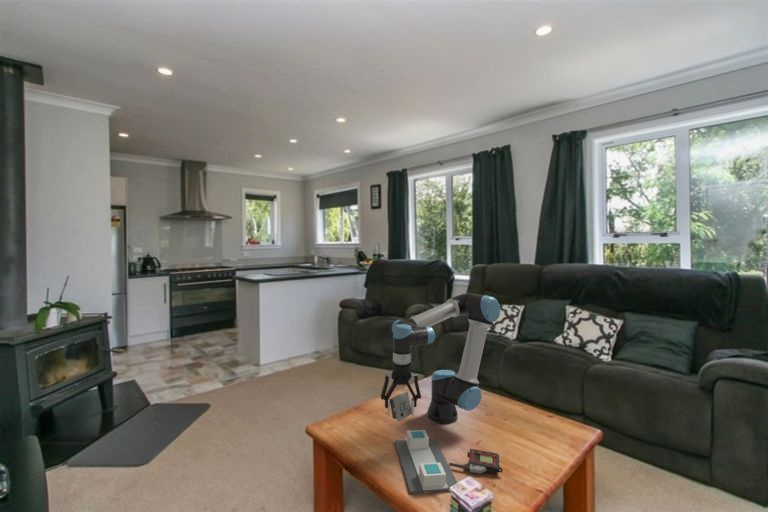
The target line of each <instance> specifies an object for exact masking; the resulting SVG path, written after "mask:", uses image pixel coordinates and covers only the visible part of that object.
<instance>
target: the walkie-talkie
mask: <svg viewBox="0 0 768 512" xmlns="http://www.w3.org/2000/svg"><path fill="white" fill-rule="evenodd" d="M466 455H467V458H469V459H468V460H467V464H468V465H463V464H459V463H453V462H449V463H448V465H449V467H455V468H461V469H465V470H469V473H474V474H478V475H479V474H481V475H482V473H485V472H490V473H491V472H493V473H496V474H497V473H503V468H502V467H500V454H499V453H498V452H497V453H496V452H493V451H487V450H480V449H474V448H470V449H469V451H467V454H466Z"/></svg>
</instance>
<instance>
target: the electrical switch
mask: <svg viewBox="0 0 768 512" xmlns="http://www.w3.org/2000/svg"><path fill="white" fill-rule="evenodd" d="M389 400H390V412H391V417H392V419H393V420H396V421H397V422H401V421H402V420H404V419H406V418H408V417H409V416H412V415H411V399H410V394H409V392H408V391H405V392H403V393H400V394H398V395H395V396H393V397H390V398H389Z"/></svg>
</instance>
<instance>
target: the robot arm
mask: <svg viewBox="0 0 768 512" xmlns="http://www.w3.org/2000/svg"><path fill="white" fill-rule="evenodd" d="M459 316H468V317H467V320H468V323H469V327H468V331H467V335H466V339H465V344H464V348H463V352H462V357H461V362H460V364H459V369H458V370H459V371H458V372H457V373H456V372H455V371H454V370H451V369H439V370H436V371H434V372H433V373H432V375H431V399H430V403H429V406H428V409H427V417H428V419H430V420H431V421H433V422H435V423H438V424H446V425H448V424H452V422H453V423H456V421H457V420H458V416H459V415H458V414H459V413H458V410H457V407H458V408H460V409H462V410H464V411H466V412H467V411H473V410H475V408H477V407H479V405H480V403H481V400H482V397H483V394H482V390H481V388H479V384H480V381H479V380H478V374H479V369H480V365H481V361H482V355H483V351H484V347H485V342H486V339H487V333H488V329H489V328H490V327H493V323H494V322H497V321H498V319H499V318H500V316H501V307H500V304H499V302H498V300H497V298H495V297H494V296H490V295H486V294H478V293H473V292H466V293H462V294H458V295H456V296H453V297H451V298H448V299H447V300H446V301H445V302H444V303H441V304H440V305H438V306H435V307H432V308H431V309H428V310H426V311H423V312H421V313H419V314H417V315H414V316H411V317H409V318H407V319H404V320H402V319H397V320H395V321H394V322H393V323H392V325H391V331H392V334H393V335H392V339H393V340H392V373H391V374H387V373H386V374H384V381H383V387H382V390H381V393H380V399H381V400H384V407H385V409H386V411H387V412H386V414H387V417H388V418H389V417H391V413H390V412H391V406H390V400H389V399H391V396H392V394H393V392H394V391H395V389H396V388H397V386H406V387H407V388H408V390H409V392H410V394H411V396H412V397H411V399H410V405H411V415H410V416H411V417H415V408H417V401H418V399H419V400H420V399H421V398H422V395H421V389H420V387H419V382H418V381H419V377H418V376H419V375H418V374H417V373H415V374H412V373H411V371H412V369H411V368H412V366H411V365H412V363H411V361H412V360H411V359H412V348H413V347H419V346H427V345H429V344H432V343H434V341H435V339H436V333H435V330H434V328H433V327H432V326H435V325H436V324H439V323H441V322H444V321H445V320H447V319H450V318H452V317H453V318H457V317H459ZM411 378H412V380H413V383H414V387H415V391H416V394H415V392H414V390H413V388H412V385H411V384H410V382H409V381H410V380H411ZM391 379H392V383H391V385H390V386H389V382H390V380H391ZM388 386H389V388H388ZM387 389H388V390H387Z"/></svg>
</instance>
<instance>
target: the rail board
mask: <svg viewBox="0 0 768 512" xmlns="http://www.w3.org/2000/svg"><path fill="white" fill-rule="evenodd" d="M394 444H395V447H396V451H397V453H398V457H399V459H400V460H399V461H400V463H401V466H402V470H403V474H404V478H405V480H406V484H407V486H408V490H410V491H409V493H420V494H427V493H426V492H433V493H441V492H440V491H446V492H449V491H448V490H449V489H450V487H451V486H453V485H454V484H456V483H458V481H457V479H456V477H455V475H454V472H453V471H452V469H451V466H450V465H449V463H448V461H447V459H446V457H445V454H444V453H443V452H442V449H441V448H440V446H439V443H438V441H437V440H436V437H435V438H434V437H433V438H429V435H428V434H427V432H426V430H425V429H422V430H421V429H420V430H419V429H418V430H407V431H406V438H405V439H397V440H394ZM424 492H425V493H424Z"/></svg>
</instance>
